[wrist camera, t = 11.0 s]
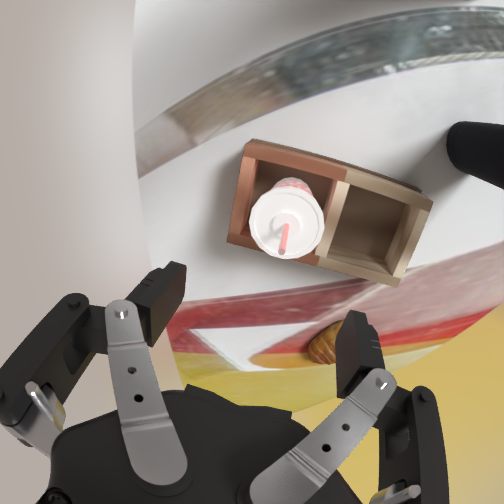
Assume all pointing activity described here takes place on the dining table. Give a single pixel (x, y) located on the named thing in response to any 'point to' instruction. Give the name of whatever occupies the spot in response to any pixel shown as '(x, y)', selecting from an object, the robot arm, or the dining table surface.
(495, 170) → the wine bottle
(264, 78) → the dining table surface
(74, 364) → the robot arm
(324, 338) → the pastry
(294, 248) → the beverage cup
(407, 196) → the cup holder
